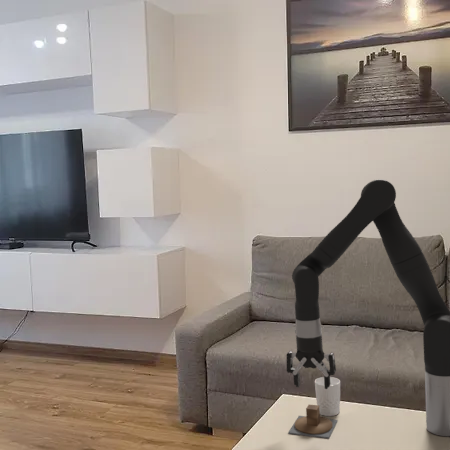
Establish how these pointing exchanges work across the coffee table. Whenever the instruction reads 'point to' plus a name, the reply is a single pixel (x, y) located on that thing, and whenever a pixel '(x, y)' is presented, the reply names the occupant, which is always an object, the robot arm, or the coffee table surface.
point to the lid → (313, 422)
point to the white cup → (328, 396)
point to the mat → (323, 435)
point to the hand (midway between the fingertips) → (312, 387)
